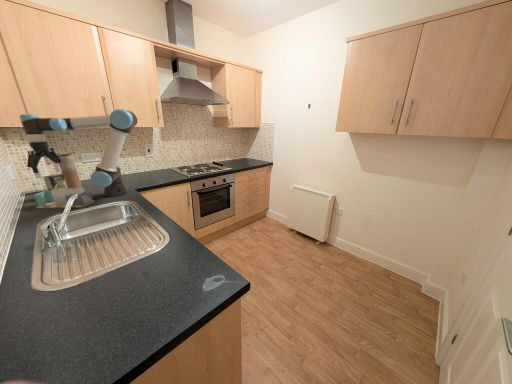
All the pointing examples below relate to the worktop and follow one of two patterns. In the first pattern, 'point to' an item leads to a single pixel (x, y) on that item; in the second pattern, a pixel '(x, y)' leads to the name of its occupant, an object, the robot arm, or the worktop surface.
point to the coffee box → (55, 181)
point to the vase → (69, 171)
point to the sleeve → (81, 199)
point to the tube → (62, 192)
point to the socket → (43, 198)
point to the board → (52, 205)
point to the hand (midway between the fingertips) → (50, 175)
